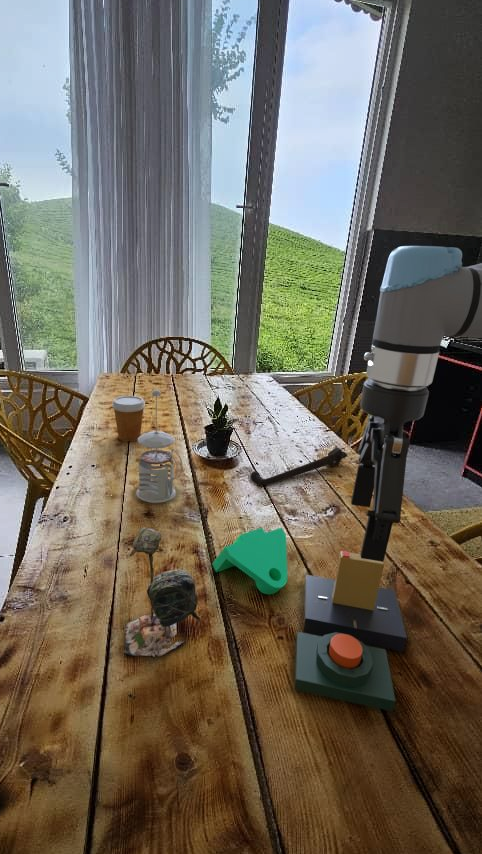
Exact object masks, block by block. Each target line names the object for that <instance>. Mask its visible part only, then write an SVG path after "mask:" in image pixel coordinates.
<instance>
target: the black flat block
mask: <svg viewBox="0 0 482 854" xmlns="http://www.w3.org/2000/svg"><path fill="white" fill-rule="evenodd" d="M334 583H335V578H334V579H333V578H329V577H322V576H316V575H310V574H305V579H304V585H303V613H302V615H303V621H302V633H306V634H311V635H316V636H321V637H323V636H324V635H327V634H331V633H335V632H338V633H343V634H348V635H351V636H353V637H354V638H356V639H358V640H359V641H361V642H363V643H364V645H366V646H371V647H376V648H381V649H385V650H392V651H397V652H402V653H403V652H404V650H405V648H406V643H407V639H408V636H407V632H406V628H405V624H404V620H403V616H402V613H401V612H402V611H401V609H400V608H401V607H400V605H399V601H398V597H397V594H396V590H395V589H390V588H385V587H379V589H378V593H377V598H376V602H375V606H374V610H368V609H362V608H357V607H352V606H346V605H341V604H336V603H332V593H333V588H334Z"/></svg>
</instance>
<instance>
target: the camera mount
mask: <svg viewBox="0 0 482 854" xmlns="http://www.w3.org/2000/svg"><path fill="white" fill-rule="evenodd" d="M287 553H288V552H287V534H286V533H285V531H284V529H283V527H279V528H276V529H273V530H269V531H267V532H265V530H264V528H263V527H260V528H255V529H253V530H251V531H247V532H244V533H241V534H239V536H238V537H237V538H236V540H235V541H234V542H233V543H232V544H229V545H225V546H224V547H223V549H222V550H221V551H220V553H219V554H218V555H217V557H216V558H215V559H214V561H213V562H212V564H211V566H212V567H213V569H214V572H215V573H219V572H222V571H225V570H227V569H230V568H232V567H233V568H234V567H236V568H237V569H239V570H240V571H242V572H243V573H244V574H245V575H247V576H249V577H250V578H251V579H253V580H254V583H255V586H256V588H257V589H258V591H259V592H260V593H262V594H264V595H274V594H276V593H278V592H279V591H280V590H281V589H282V588H283V587H284V586H286V584H287V582H288V555H287Z"/></svg>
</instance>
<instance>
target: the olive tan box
mask: <svg viewBox="0 0 482 854" xmlns="http://www.w3.org/2000/svg"><path fill="white" fill-rule="evenodd" d="M360 554H361V553H355V552H350V550H349V551H348V550H344V549H343V550H340V552H339V556H338V563H337V566H336V572H335V578H334V580H335V583H334V588H333V593H332V603H336V604H341V605H346V606H352V607H357V608H362V609H368V610H374V606H375V602H376V598H377V593H378V589H379V588H380V585H381V580H382V576H383V572H384V568H385V562H381V561H375V560H369V559H363V558H361V555H360Z"/></svg>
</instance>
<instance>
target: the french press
mask: <svg viewBox="0 0 482 854" xmlns="http://www.w3.org/2000/svg"><path fill="white" fill-rule="evenodd" d="M151 396H153V397H155V430H152V431H147V432H145V433H143V434H140V437H139V438H138V440H137V442H138V443H139V445H141V446H142V447H145V448H148V449H149V450H146V451H144V452H142V453H141V454H140V456H139V458H140V460H139V462H138V489H137V490H136V493H135V495H136V496H137V498H138V499H140V500H142V501H143V502H146V503H154V504H155V503H156V504H158V503H166V502H168V501H170V500H173V498H174V497H175V496H176V494H177V493H176V492H177V491H176V490H175V488H174V481H175V480H176V479H178V478H180V477H181V475H182V473H183V460H182V457H181V455H180V453H179V452H178V451H177V450H176V449H174V448H171V451H170V450H169V451H168V450H162V449H165V448H168V447H170V446H172V445H173V444H174V442H175V437H174V436H173V435H172V434H169V433H167V432H165V431H162V430H158V413H157V412H158V397H162V392H161V391H160V389H154V390H153V391H152V392H151ZM174 452H175V453H176V455H177V457H178V459H179V461H180V472H179V474H178V463H177V461H176V458H175V456H174V454H173V453H174ZM174 462H175V470H176V471H175V475H174ZM154 465H155V466H154ZM177 475H178V476H177Z"/></svg>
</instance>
